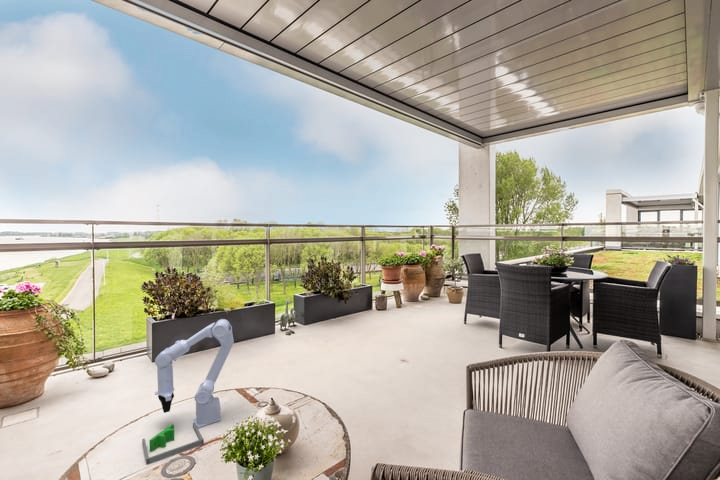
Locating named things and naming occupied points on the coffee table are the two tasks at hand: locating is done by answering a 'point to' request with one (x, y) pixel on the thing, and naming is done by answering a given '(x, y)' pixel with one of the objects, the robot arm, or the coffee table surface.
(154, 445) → the green stepped block
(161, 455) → the grey u-shaped frame
